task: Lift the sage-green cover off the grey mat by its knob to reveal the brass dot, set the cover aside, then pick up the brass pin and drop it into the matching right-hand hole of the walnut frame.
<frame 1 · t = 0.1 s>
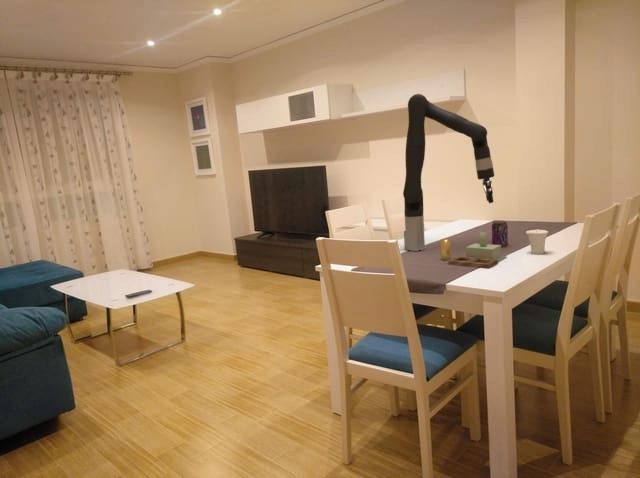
hand: (490, 201, 219), 22 cm above the table, tool pointing down, fingers open, 8 cm apart
brass pin: (446, 259, 207), on the table
green cover: (483, 257, 203), point 1 cm above the table, touching grey mat
beverage can: (499, 246, 225), on the table
walnut frame: (472, 263, 195), on the table
cup: (537, 253, 206), on the table
grey mat: (483, 258, 203), on the table
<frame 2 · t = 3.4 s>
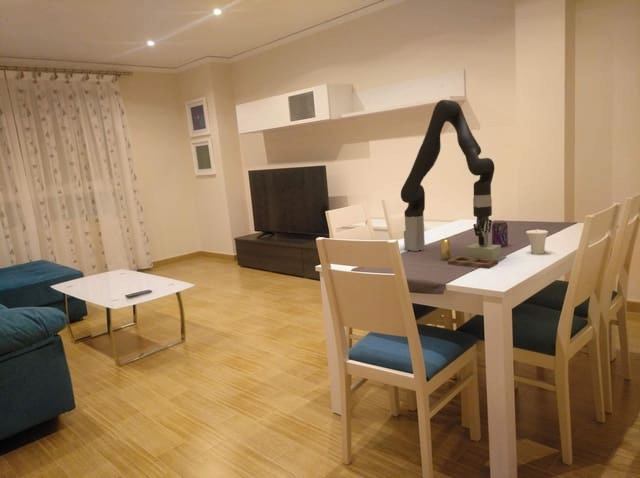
hand: (483, 244, 202), 7 cm above the table, tool pointing down, fingers closed on green cover, 3 cm apart
green cover: (483, 257, 203), point 1 cm above the table, touching grey mat, gripper
everything else where it was.
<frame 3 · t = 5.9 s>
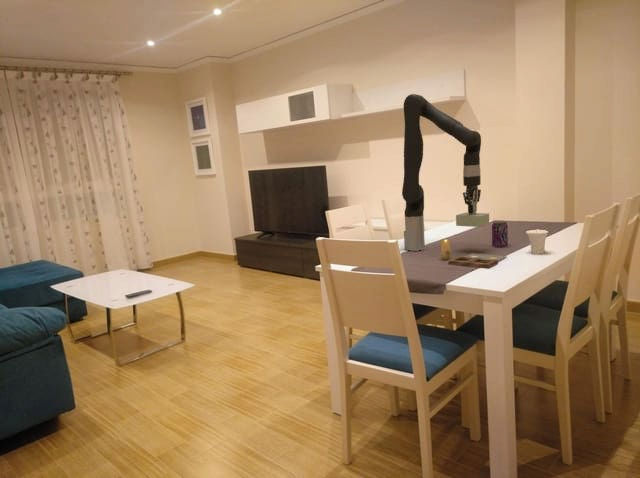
hand: (472, 212, 214), 19 cm above the table, tool pointing down, fingers closed on green cover, 3 cm apart
green cover: (472, 224, 215), point 13 cm above the table, touching gripper
everything else where it was.
when the fingers open (8 cm above the table, at t = 8.4 s): green cover drops 2 cm, on the table.
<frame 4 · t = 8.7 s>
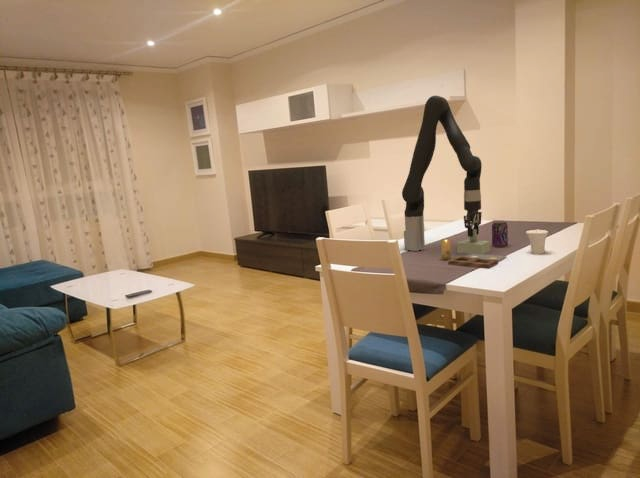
hand: (473, 235, 217), 8 cm above the table, tool pointing down, fingers open, 5 cm apart
green cover: (473, 252, 218), on the table
everything else where it was.
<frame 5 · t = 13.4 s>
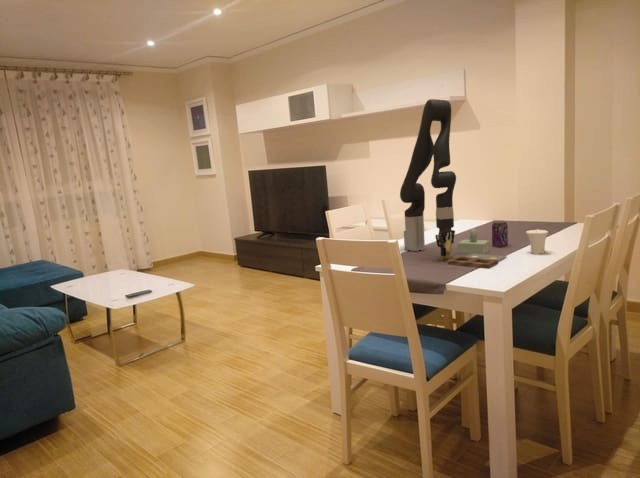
hand: (446, 254, 207), 2 cm above the table, tool pointing down, fingers closed on brass pin, 4 cm apart
brass pin: (446, 259, 207), on the table, touching gripper
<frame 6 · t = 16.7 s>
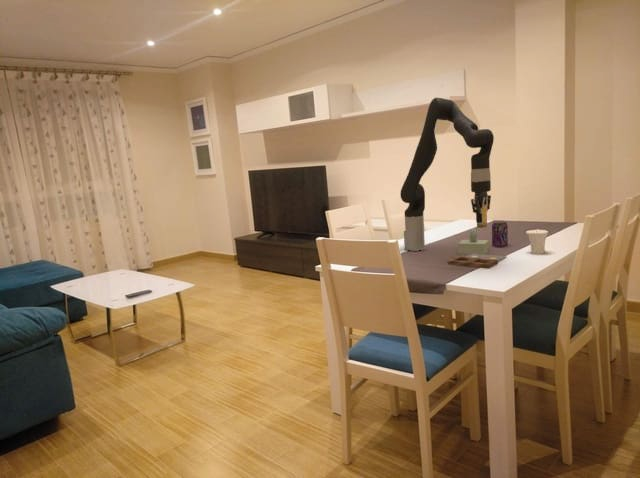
hand: (481, 221, 189), 18 cm above the table, tool pointing down, fingers closed on brass pin, 4 cm apart
brass pin: (481, 226, 190), point 16 cm above the table, touching gripper
everything else where it was.
when the fingers open (3 cm above the table, at t = 19.9 s): brass pin stays where it is, resting in walnut frame.
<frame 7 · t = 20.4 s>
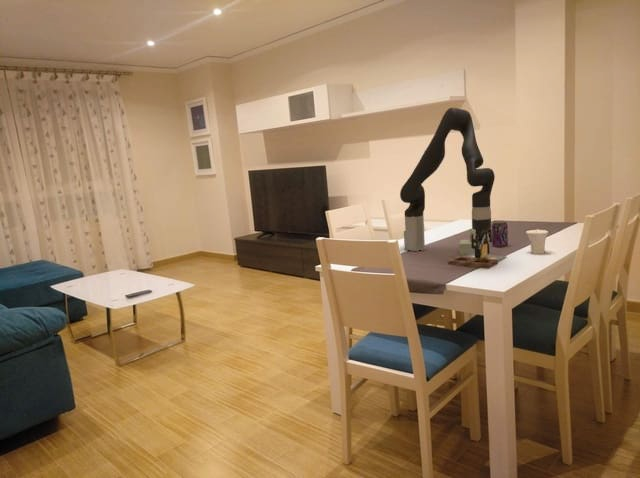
hand: (482, 255, 192), 4 cm above the table, tool pointing down, fingers open, 8 cm apart
brass pin: (482, 265, 193), resting in walnut frame
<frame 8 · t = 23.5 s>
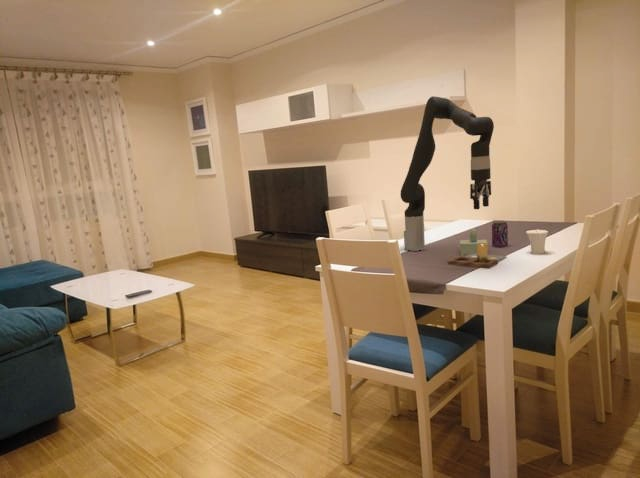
hand: (481, 207, 188), 24 cm above the table, tool pointing down, fingers open, 8 cm apart
at the end: brass pin 0.0 cm from the target spot on the walnut frame, point 0.0 cm above the walnut frame's base; brass pin tilted 0°; green cover moved 15.3 cm from its start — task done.
